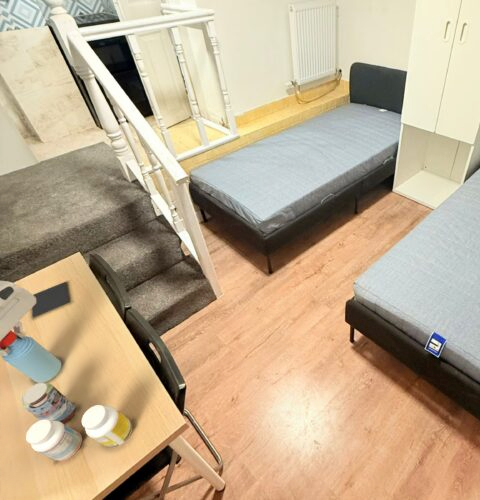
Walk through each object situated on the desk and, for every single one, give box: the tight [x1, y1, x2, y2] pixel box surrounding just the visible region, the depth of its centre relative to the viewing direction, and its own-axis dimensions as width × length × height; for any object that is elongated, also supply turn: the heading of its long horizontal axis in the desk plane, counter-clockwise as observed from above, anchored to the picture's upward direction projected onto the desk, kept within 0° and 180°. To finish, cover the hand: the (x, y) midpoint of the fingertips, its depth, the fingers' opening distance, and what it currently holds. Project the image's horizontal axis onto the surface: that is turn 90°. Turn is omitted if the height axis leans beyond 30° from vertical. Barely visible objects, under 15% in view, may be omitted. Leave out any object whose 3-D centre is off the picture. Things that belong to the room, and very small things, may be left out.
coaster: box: [31, 281, 70, 318], centre depth 109 cm, size 10×10×1 cm
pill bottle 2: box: [81, 404, 133, 449], centre depth 75 cm, size 6×6×12 cm
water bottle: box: [1, 335, 62, 384], centre depth 85 cm, size 7×7×18 cm
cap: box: [0, 330, 17, 348], centre depth 79 cm, size 4×4×2 cm
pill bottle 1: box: [25, 419, 83, 462], centre depth 74 cm, size 6×6×11 cm
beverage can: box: [21, 382, 77, 425], centre depth 78 cm, size 6×7×12 cm
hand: (14, 344), depth 81 cm, fingers closed on water bottle, 3 cm apart
